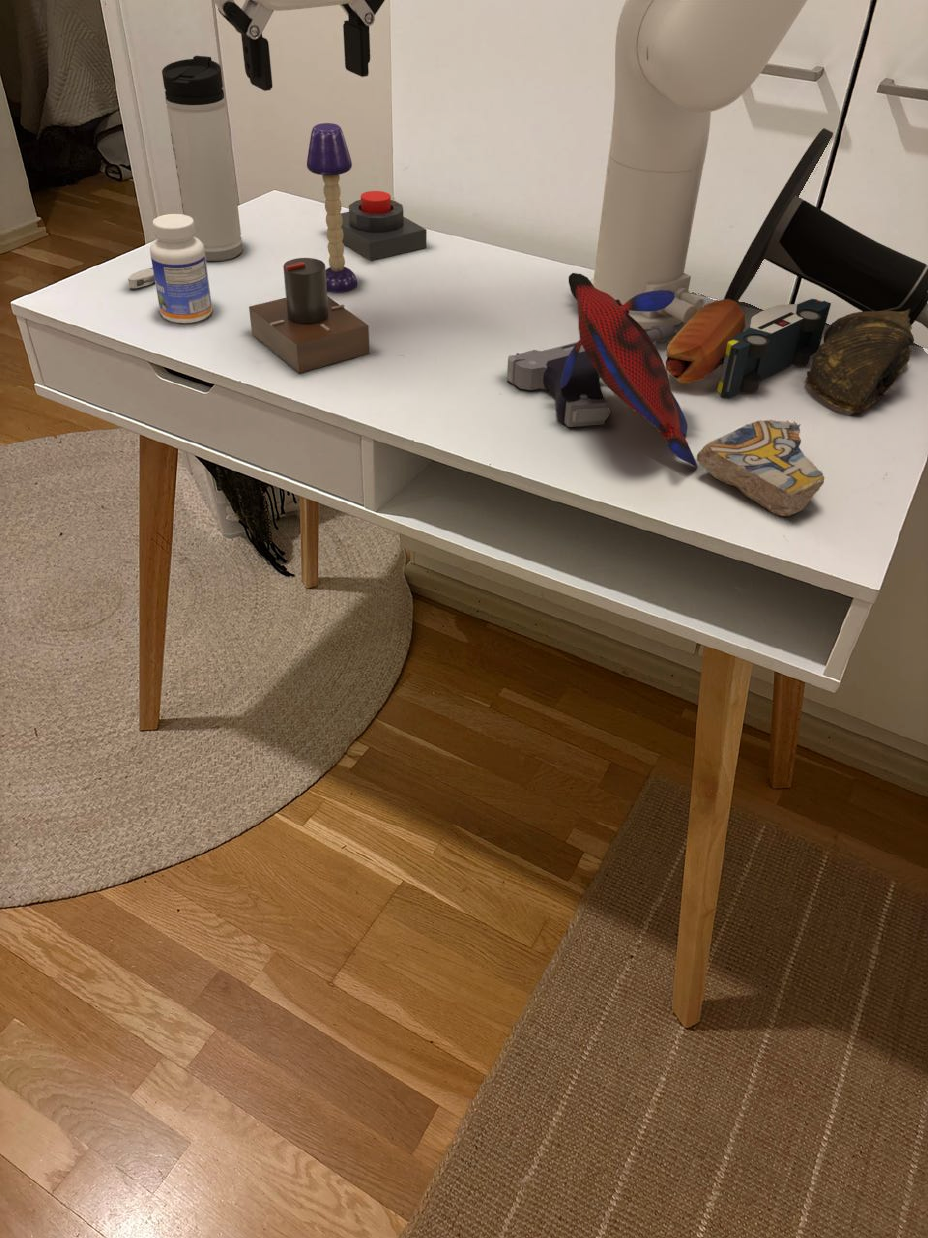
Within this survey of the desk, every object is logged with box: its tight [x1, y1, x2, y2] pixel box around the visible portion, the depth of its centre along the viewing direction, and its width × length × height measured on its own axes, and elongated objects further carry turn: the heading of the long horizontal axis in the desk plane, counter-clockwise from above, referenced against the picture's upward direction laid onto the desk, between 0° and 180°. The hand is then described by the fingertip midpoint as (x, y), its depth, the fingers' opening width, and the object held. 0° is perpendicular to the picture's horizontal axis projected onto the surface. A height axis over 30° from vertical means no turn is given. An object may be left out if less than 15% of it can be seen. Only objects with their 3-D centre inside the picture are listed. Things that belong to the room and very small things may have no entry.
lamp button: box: [360, 190, 392, 214], centre depth 119 cm, size 4×4×2 cm
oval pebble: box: [127, 267, 155, 289], centre depth 111 cm, size 6×2×1 cm, turn 152°
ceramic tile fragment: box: [696, 419, 825, 517], centre depth 83 cm, size 12×3×10 cm
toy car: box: [716, 298, 832, 399], centre depth 98 cm, size 5×16×5 cm
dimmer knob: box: [282, 257, 328, 324], centre depth 97 cm, size 4×4×5 cm
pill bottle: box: [149, 213, 213, 324], centre depth 102 cm, size 5×5×10 cm
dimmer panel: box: [248, 295, 371, 374], centre depth 100 cm, size 10×8×3 cm
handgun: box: [506, 324, 677, 428], centre depth 96 cm, size 3×20×12 cm
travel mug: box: [161, 55, 244, 262], centre depth 112 cm, size 6×7×20 cm
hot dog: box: [665, 298, 746, 384], centre depth 98 cm, size 5×13×5 cm
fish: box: [560, 272, 698, 468], centre depth 87 cm, size 20×12×15 cm
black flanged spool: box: [723, 127, 928, 329], centre depth 103 cm, size 19×19×25 cm
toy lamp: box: [306, 122, 358, 293], centre depth 106 cm, size 5×5×17 cm
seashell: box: [803, 309, 915, 413], centre depth 97 cm, size 16×9×7 cm, turn 148°
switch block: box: [340, 199, 428, 261], centre depth 121 cm, size 10×8×4 cm
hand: (310, 79), depth 90 cm, fingers open, 9 cm apart
